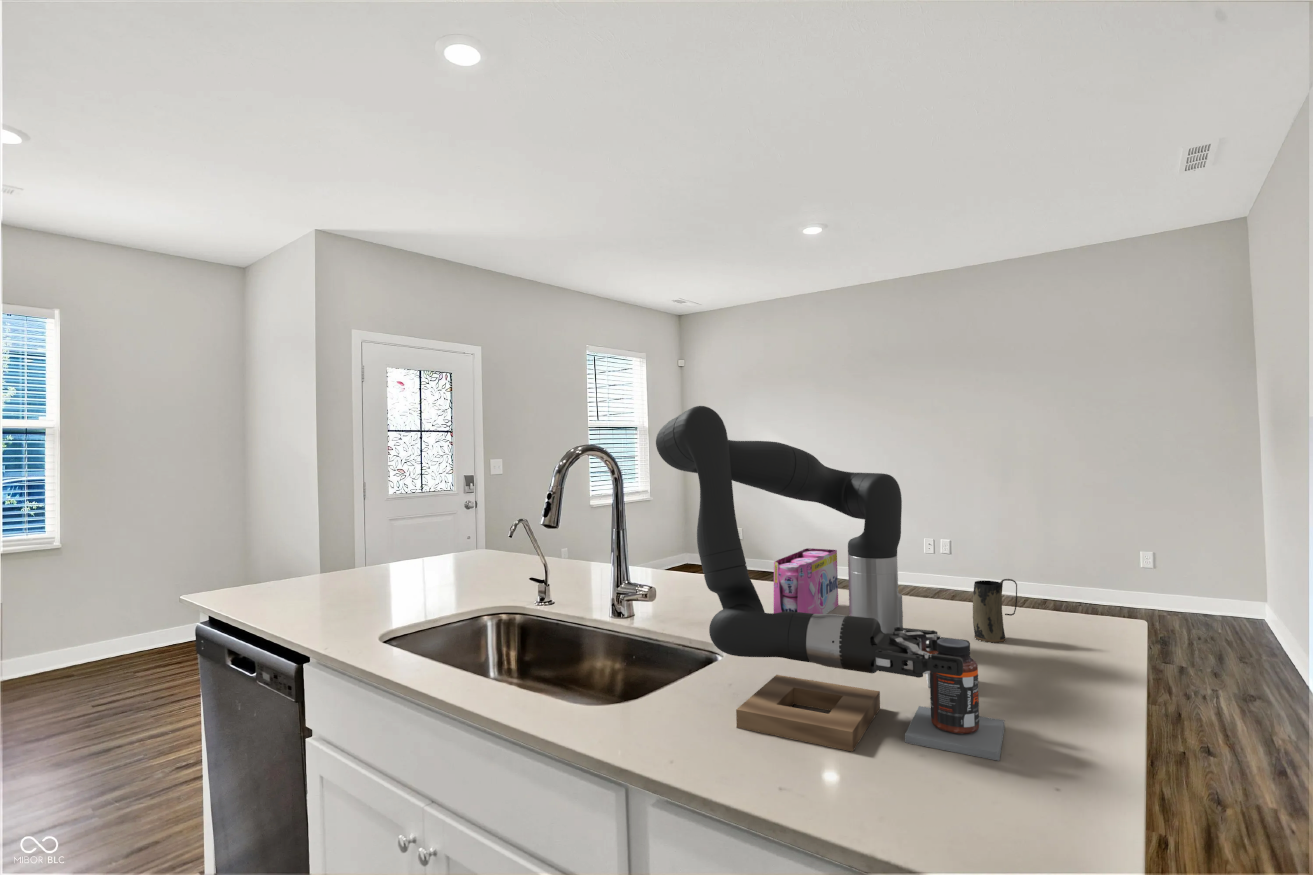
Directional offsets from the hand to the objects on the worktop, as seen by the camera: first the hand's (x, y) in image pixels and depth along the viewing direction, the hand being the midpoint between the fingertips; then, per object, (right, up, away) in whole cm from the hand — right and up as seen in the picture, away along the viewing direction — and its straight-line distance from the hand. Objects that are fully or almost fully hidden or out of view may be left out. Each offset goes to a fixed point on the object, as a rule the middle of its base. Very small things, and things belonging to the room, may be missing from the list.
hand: (966, 657), depth 89 cm
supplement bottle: (-1, -10, +1) cm, 10 cm away
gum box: (-6, -12, +66) cm, 68 cm away
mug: (+26, -11, +43) cm, 51 cm away
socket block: (-19, -11, +7) cm, 23 cm away
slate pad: (-1, -11, +1) cm, 11 cm away
